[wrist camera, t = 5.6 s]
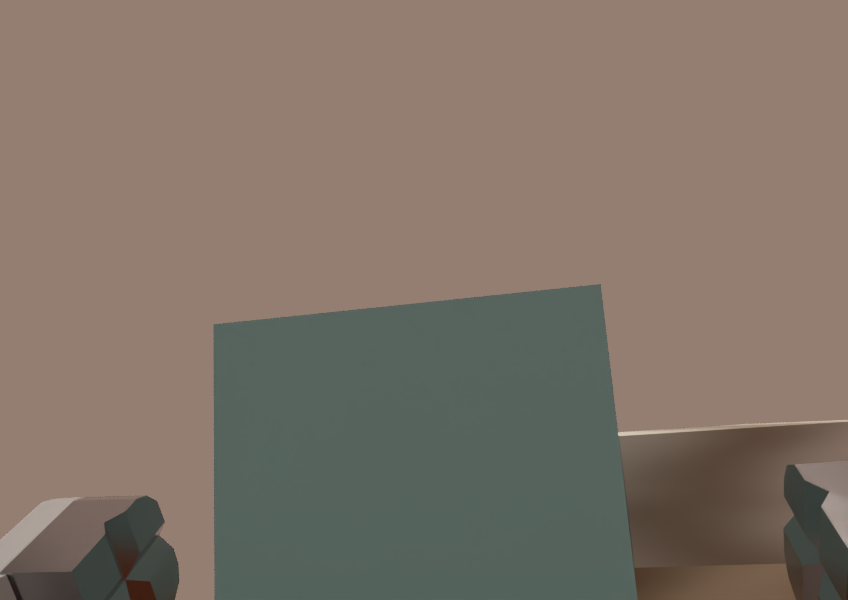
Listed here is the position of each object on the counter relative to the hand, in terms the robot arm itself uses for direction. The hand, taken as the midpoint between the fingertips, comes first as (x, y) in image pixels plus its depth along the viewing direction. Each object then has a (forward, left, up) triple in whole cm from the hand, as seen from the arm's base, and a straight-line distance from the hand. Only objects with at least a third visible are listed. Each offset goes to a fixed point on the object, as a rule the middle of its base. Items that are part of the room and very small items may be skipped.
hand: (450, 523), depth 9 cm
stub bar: (0, +7, -2) cm, 8 cm away
